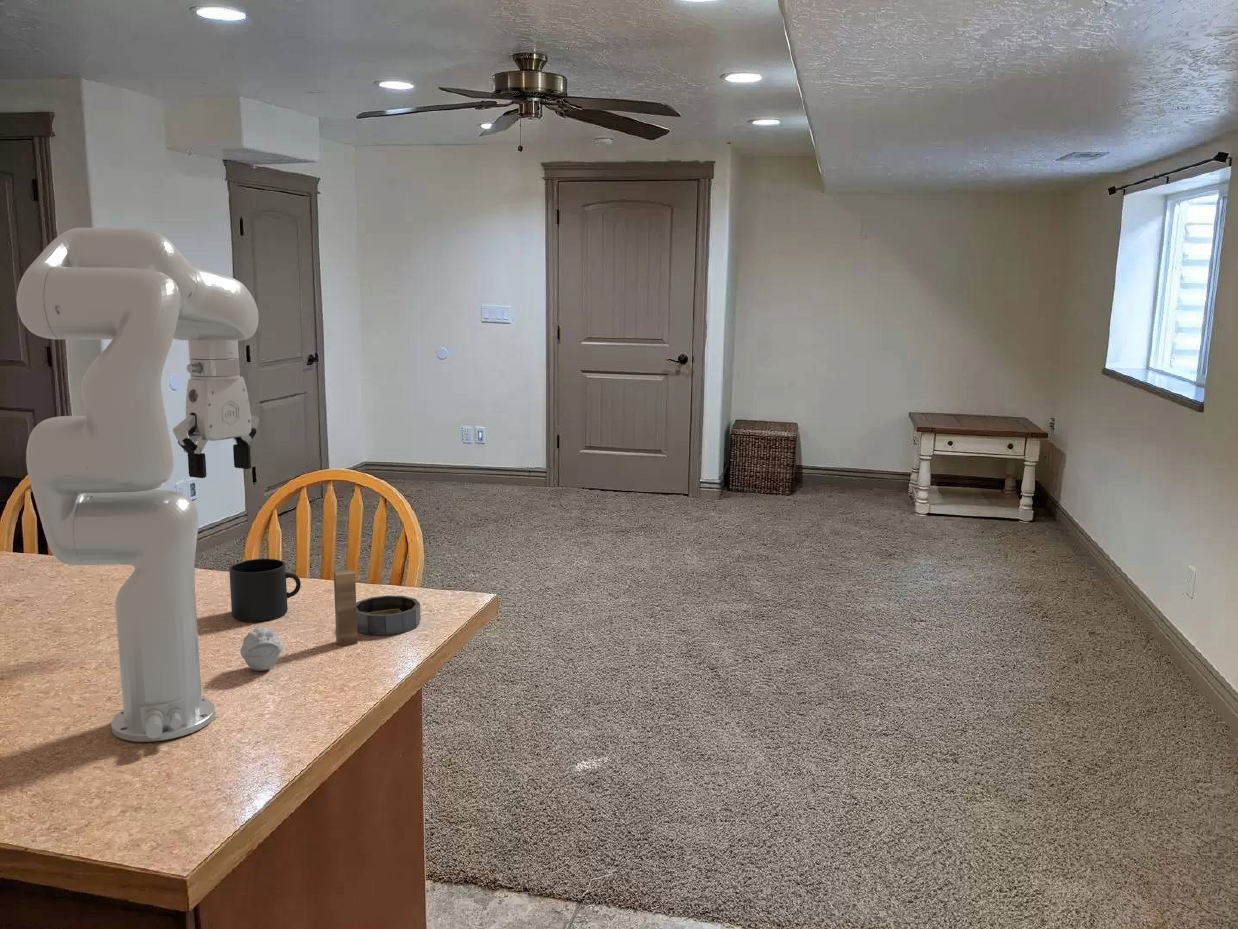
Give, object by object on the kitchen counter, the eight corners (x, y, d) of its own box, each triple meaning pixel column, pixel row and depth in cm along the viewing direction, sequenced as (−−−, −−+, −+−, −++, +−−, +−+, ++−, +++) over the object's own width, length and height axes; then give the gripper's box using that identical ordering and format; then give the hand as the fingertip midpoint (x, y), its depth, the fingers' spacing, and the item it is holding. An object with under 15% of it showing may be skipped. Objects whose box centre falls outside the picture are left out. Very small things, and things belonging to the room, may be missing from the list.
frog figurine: (243, 681, 144) (240, 636, 143) (239, 665, 151) (237, 622, 149) (286, 675, 147) (284, 631, 146) (280, 659, 153) (278, 617, 152)
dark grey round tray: (426, 630, 167) (426, 610, 167) (361, 639, 162) (360, 619, 162) (410, 611, 177) (410, 592, 177) (347, 619, 172) (347, 600, 172)
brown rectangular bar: (357, 643, 161) (355, 573, 159) (339, 646, 159) (336, 575, 157) (354, 638, 163) (352, 569, 161) (336, 641, 161) (333, 571, 159)
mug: (307, 616, 174) (305, 567, 172) (235, 626, 168) (233, 575, 167) (296, 601, 182) (294, 554, 181) (228, 610, 176) (225, 562, 175)
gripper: (189, 373, 150) (196, 483, 153) (270, 367, 165) (275, 466, 168) (154, 371, 153) (161, 479, 155) (237, 365, 168) (242, 463, 171)
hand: (220, 472), depth 162 cm, fingers open, 9 cm apart
